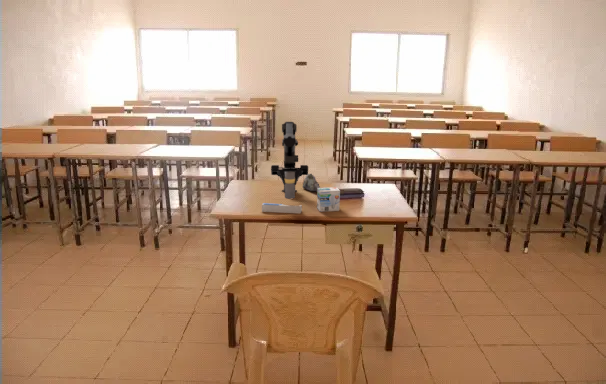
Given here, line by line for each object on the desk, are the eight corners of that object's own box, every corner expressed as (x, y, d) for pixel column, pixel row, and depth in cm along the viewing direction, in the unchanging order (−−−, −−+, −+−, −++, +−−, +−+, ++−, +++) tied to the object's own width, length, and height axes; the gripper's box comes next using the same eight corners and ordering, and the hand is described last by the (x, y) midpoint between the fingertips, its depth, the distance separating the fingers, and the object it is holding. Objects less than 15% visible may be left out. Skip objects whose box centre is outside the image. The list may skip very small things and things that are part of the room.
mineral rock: (320, 194, 260) (320, 176, 257) (301, 193, 260) (301, 176, 258) (320, 188, 272) (321, 171, 269) (302, 187, 273) (302, 171, 270)
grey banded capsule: (282, 197, 231) (282, 172, 228) (290, 195, 234) (290, 170, 231) (288, 199, 227) (288, 174, 224) (297, 197, 231) (297, 172, 227)
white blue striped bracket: (261, 211, 229) (261, 203, 228) (263, 209, 233) (263, 201, 231) (300, 213, 226) (300, 205, 225) (301, 210, 230) (301, 203, 229)
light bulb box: (319, 212, 229) (319, 191, 226) (316, 207, 235) (316, 187, 232) (340, 210, 231) (340, 190, 228) (336, 206, 237) (337, 186, 234)
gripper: (270, 149, 228) (270, 176, 220) (308, 149, 228) (309, 176, 221) (271, 161, 238) (271, 187, 230) (307, 161, 238) (308, 187, 231)
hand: (289, 184), depth 228 cm, fingers closed on grey banded capsule, 5 cm apart
